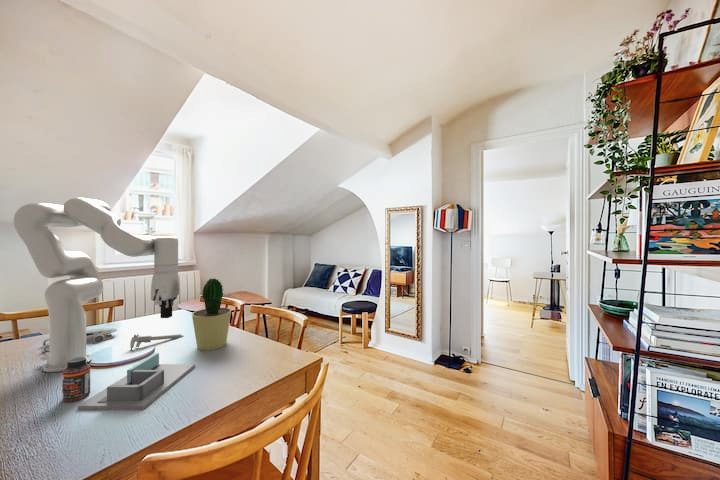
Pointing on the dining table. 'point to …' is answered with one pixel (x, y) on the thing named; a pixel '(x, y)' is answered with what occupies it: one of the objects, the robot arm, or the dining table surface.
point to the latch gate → (144, 365)
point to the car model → (89, 337)
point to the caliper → (149, 338)
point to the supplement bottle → (76, 380)
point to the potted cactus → (211, 318)
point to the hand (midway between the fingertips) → (166, 317)
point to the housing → (138, 388)
